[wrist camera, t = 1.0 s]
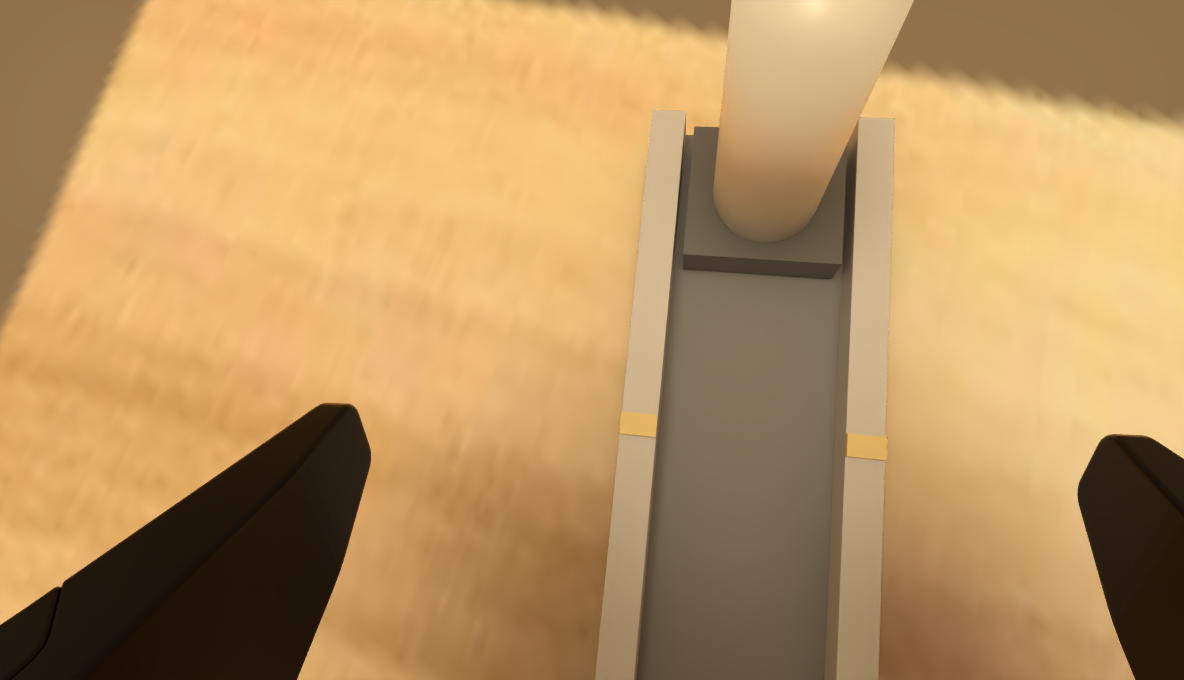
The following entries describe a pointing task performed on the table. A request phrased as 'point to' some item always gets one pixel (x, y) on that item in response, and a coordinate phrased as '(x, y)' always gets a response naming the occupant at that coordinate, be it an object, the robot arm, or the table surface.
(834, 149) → the fader slider
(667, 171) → the fader console
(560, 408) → the table surface
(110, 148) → the table surface
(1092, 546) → the robot arm
